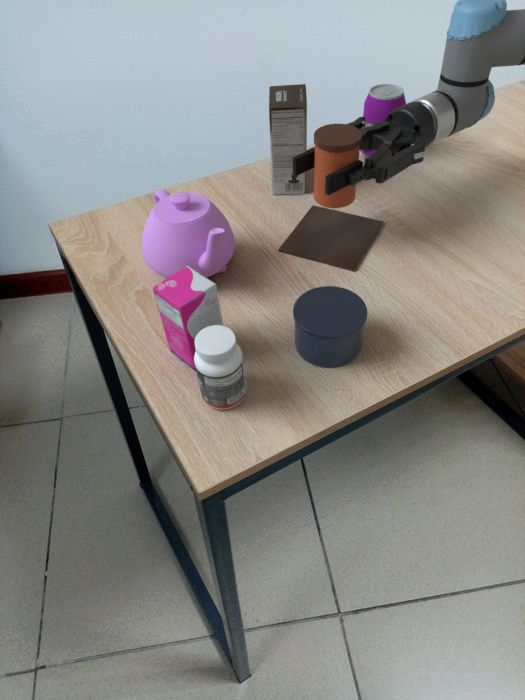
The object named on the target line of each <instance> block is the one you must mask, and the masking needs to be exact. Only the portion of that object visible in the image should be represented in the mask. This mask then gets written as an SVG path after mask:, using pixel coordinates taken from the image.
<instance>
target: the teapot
mask: <svg viewBox="0 0 525 700" xmlns="http://www.w3.org/2000/svg"><path fill="white" fill-rule="evenodd" d="M153 200H154V206H153V207H152V209H151V211H150V213H149V215H148V217H147V220H146V222H145V225H144V228H143V232H142V239H141V251H142V255H143V260H144V262H145V264H146V265H147V266H148V267H149V269H150V270H151V271H153V272H154V273H156V274H157V275H159V276H160V277H163V278H164V279H167V278H169V277H170V276H172V275H174V274H175V273H177V272H178V271H180V270H182V269H183V268H185V267H186V266H188V267H190V268H191V269H193V270H194V271H196V272H197V273H199V274H200V275H202V276H204V277H205V278H207V279H209V277H212V276H214V275H216V274H217V273H219V274H220V273H223V272H225V271H226V270H227V268H228V266H227V265H228V263H229V261H230V260H231V259H232V258H233V255H234V253H235V249H236V240H235V236H234V232H233V229H232V227H231V224H230V222H229V221H228V219H227V218H226V217H225V215H224V214H223V212H222V211H221V210H220V208H218V207H217V206H216V205H215V203H214V202H213V201H211V200H210V199H209V198H208V197H206V196H204V195H203V194H200V193H198V192H194V191H177V192H175V193H172V194H170V192H169V191H167V190H166V189H159V190H156V191H155V192H154V193H153Z"/></svg>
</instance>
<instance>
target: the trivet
mask: <svg viewBox="0 0 525 700" xmlns="http://www.w3.org/2000/svg"><path fill="white" fill-rule="evenodd" d="M383 225H384V220H379V219H374V218H371V217H366V216H361V215H358V214H352V213H349V212H344V211H341V210H336V209H333V208H327V207H324V206H320V205H314V204H313V205H311V207H309V209H308V211H307V212H306V213H305V214H304V216H303V217H302V218H301V219H300V221H299V223H297V224H296V226H295V227H294V228H293V230H292V231H291V232H290V234H289V235H288V236H287V238H286V239H285V240H284V241H283V243H282V244H281V245H280V246H279V248H278V249H277V250H278V252H280V253H284V254H287V255H292V256H295V257H299V258H302V259H305V260H310V261H313V262H317V263H321V264H324V265H329V266H332V267H336V268H340V269H343V270H347V271H351V272H355V271H356V270H357V268H358V266H359V265H360V263H361V261H362V260H363V258H364V256H365V255H366V253H367V251H368V250H369V248H370V246H371V245H372V243H373V242H374V240H375V238H376V236H377V235H378V233H379V232H380V230H381V228H382V226H383Z"/></svg>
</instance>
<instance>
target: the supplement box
mask: <svg viewBox="0 0 525 700" xmlns="http://www.w3.org/2000/svg"><path fill="white" fill-rule="evenodd" d="M152 292H153V296H154V299H155V302H156V306H157V310H158V313H159V317H160V319H161V322H162V323H161V324H162V328H163V330H164V333H165V338H166V340H167V344H168V348H169V351H170V352H171V353H172V354H174V355H175V356H176V357H177V358H179V359H180V360H181V361H182V362H184V363H185V364H186V365H187V366H188V367H190V368H191V369H192V370H194V371H195V372H196V368H195V363H194V355H195V352H196V350H195V337H196V335H197V334H198V333H199V332H200V331H201V330H202V329H204V328H206V327H209V326H213V325H221V326H224V323H223V322H224V321H223V316H222V310H221V304H220V299H219V293H218V287H217V284H216V283H215V282H213V281H212V280H210V279H209V278H205V277H204V276H202V275H200V274H199V273H197V272H196V271H194V270H193V269H191V268H190V267H188V266H186V267H185V268H183V269H182V270H180V271H178V272H177V273H175V274H174V275H172V276H170V277H169V278H164V280H162V281H161V282H159V283H157V284H156V285H154V286H153V287H152Z"/></svg>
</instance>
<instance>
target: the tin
mask: <svg viewBox="0 0 525 700" xmlns="http://www.w3.org/2000/svg"><path fill="white" fill-rule="evenodd" d="M292 317H293V320H294V347H295V350H296V352H297V353H298V355H299V357H301V358H302V359H303V360H304V361H305V362H307V363H309V364H311V365H313V366H315V367H320V368H328V369H329V368H339V367H343V366H346V365H348V364H350V363H352V362H353V361H354V360H355V359H356V358H358V356H359V355H360V353H361V350H362V346H363V339H364V331H365V324H366V322H367V318H368V307H367V304H366V302H365V300H363V298H362V297H361V296H360V295H358V294H357V293H356V292H354V291H353V290H350V289H348V288H345V287H341V286H334V285H324V286H318V287H314V288H311V289H309V290H307V291H305V292H303V293H302V294H300V295H299V297H297V298H296V300H295V302H294V304H293V308H292Z"/></svg>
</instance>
